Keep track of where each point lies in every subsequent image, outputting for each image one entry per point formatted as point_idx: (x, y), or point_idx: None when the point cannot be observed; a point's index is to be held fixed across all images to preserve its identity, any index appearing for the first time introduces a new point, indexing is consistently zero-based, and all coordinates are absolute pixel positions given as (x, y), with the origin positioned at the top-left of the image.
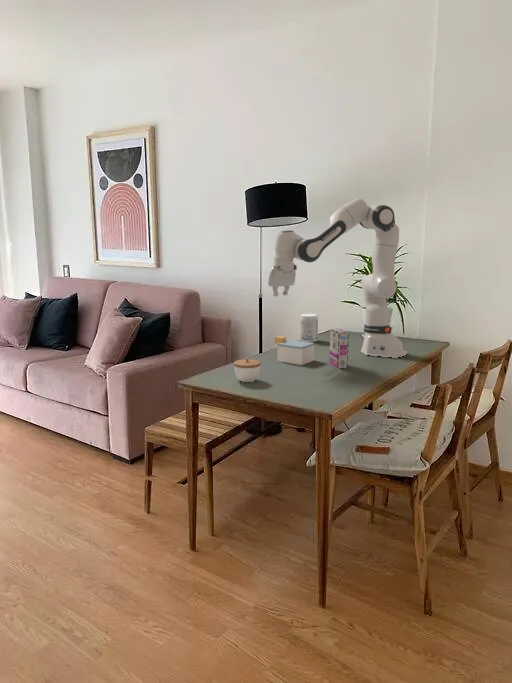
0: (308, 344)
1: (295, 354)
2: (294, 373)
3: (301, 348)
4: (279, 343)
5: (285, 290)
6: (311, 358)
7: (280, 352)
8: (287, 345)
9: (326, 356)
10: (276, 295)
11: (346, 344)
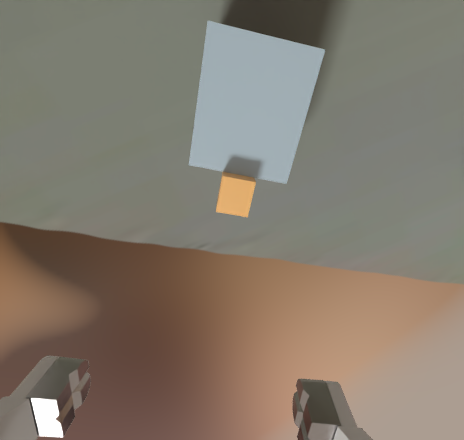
0: (252, 39)
1: None
2: (397, 54)
3: (322, 52)
4: (278, 178)
5: (17, 435)
6: None
7: None
8: (300, 133)
9: (96, 24)
10: (342, 391)
11: None
